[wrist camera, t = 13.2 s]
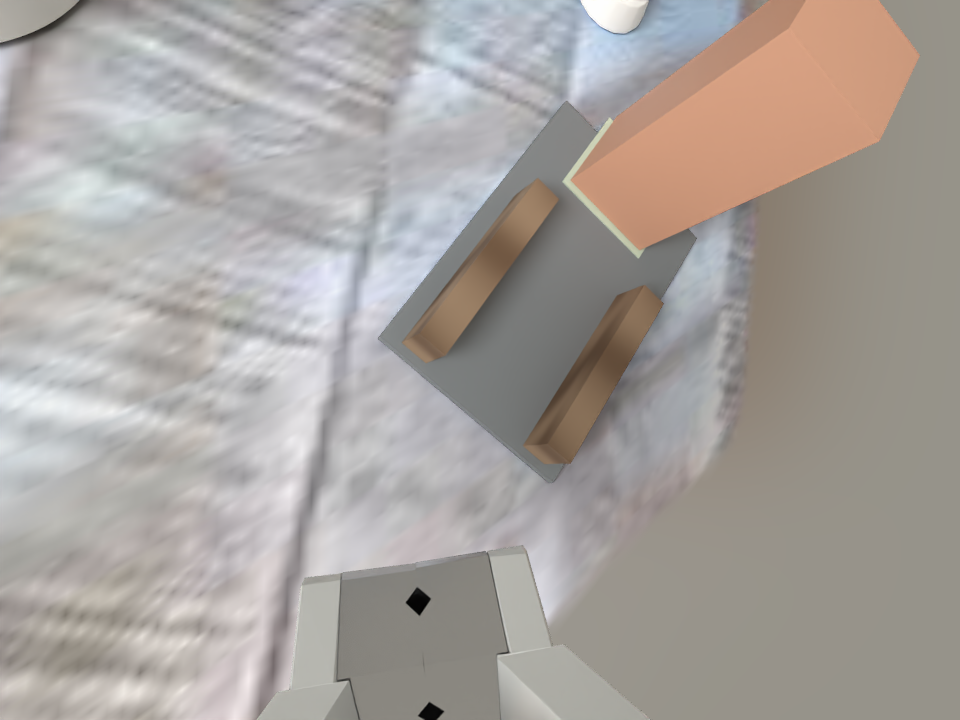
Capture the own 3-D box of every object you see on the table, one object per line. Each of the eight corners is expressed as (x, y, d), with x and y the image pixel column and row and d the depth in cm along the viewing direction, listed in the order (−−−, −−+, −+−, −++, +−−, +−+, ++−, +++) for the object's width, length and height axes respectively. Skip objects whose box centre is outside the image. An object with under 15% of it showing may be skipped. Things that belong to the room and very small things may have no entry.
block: (639, 250, 40) (879, 141, 27) (570, 180, 39) (788, 28, 26) (680, 185, 43) (920, 55, 29) (616, 116, 41) (839, -53, 28)
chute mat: (548, 482, 36) (553, 482, 36) (377, 338, 33) (380, 336, 32) (701, 224, 44) (707, 221, 43) (574, 89, 41) (579, 84, 40)
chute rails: (544, 464, 36) (570, 463, 33) (401, 342, 33) (419, 333, 31) (634, 313, 40) (663, 303, 38) (514, 195, 37) (538, 177, 35)
